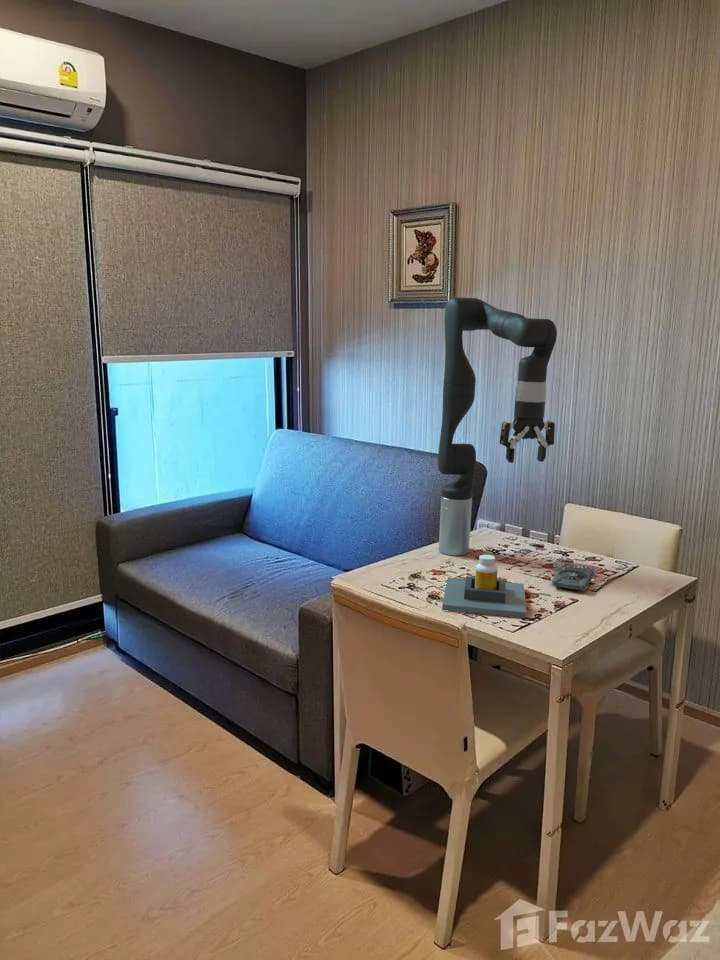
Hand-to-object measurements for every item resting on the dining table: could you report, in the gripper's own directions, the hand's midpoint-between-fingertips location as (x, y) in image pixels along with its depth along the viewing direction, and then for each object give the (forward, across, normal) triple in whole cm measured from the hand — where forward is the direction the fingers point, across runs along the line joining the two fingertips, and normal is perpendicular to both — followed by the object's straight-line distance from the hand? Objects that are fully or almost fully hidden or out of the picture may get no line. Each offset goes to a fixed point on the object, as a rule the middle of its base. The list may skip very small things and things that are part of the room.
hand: (525, 461), depth 192 cm
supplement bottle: (+32, +12, +8) cm, 36 cm away
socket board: (+34, +13, +8) cm, 37 cm away
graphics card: (+35, -16, 0) cm, 38 cm away
